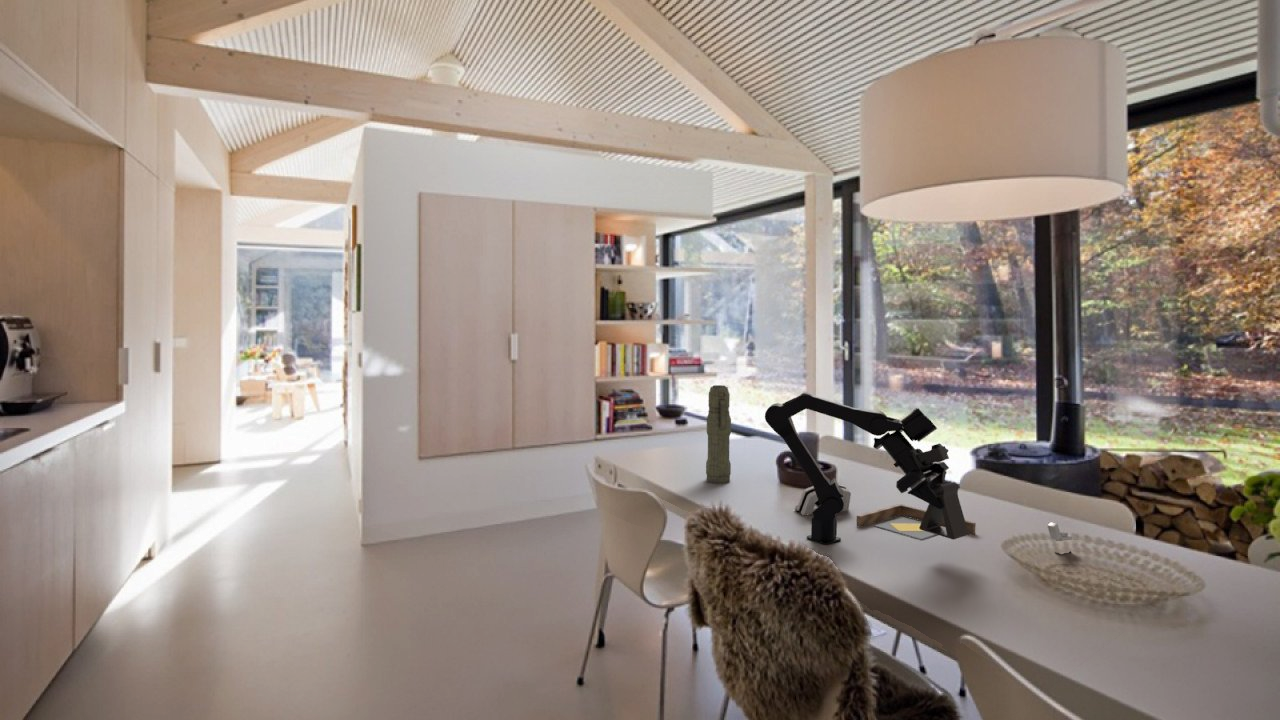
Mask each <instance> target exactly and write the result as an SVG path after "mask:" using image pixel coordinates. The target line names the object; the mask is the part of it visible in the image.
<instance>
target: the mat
mask: <svg viewBox="0 0 1280 720" xmlns="http://www.w3.org/2000/svg"><path fill="white" fill-rule="evenodd" d="M921 522H922V521H920V520H917V519H913V518H909V517H905V516H902V517H898V518H895V519H892V520H889V521H884V522H882V523H877V524H875V525H874V527H875V528H879V529H882V530H884V531H885V530H886V531H889V532H893V533H895V534H898V535H903V536H905V535H906V537H909V536H910V537H909V538H912V537H913V539H917V540H919V541H924V540H926V539H929V538H932V537H935V536H938V535H937V534H933V533H930V532H927V531H923V530H920V529H919V527H920V525H921Z"/></svg>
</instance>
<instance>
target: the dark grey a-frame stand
mask: <svg viewBox="0 0 1280 720" xmlns="http://www.w3.org/2000/svg"><path fill="white" fill-rule="evenodd" d="M932 489H933V491H934V492H935V494H936V495H937V497H938V498H939V500H940V501H941V503H942V505H943V508H942V509H938V508H936V507H934V506H933V505H931V504H929V503H928V505H927V508H926V509H925V510H926V512H925V515H924V517H923V520H922V521H920V522H921V525H920V527H919V529H920V530H923V531H927V532H930V533H933V534H937V535H936V536H940V537H943V538H946V539H950V540H953V541H954V540H957V539H960V538H963V537H967V536H969V535H970V534H969V533H968V529H967V526H966V522H965V520H966V518H965V517H964V512H963V509H962V506H961V501H960V499H959V486H958V484H957V483H956V482H955V481H953V482H952V481H950V480H949V481H945V483H940V484H936V485H934V486H933V488H932ZM943 517H944V522H945V527H943V526H941V521H942V518H943Z"/></svg>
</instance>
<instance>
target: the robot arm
mask: <svg viewBox="0 0 1280 720" xmlns="http://www.w3.org/2000/svg"><path fill="white" fill-rule="evenodd" d="M805 410H809V411H812V412H815V413H819V414H823V415H826V416H829V417H832V418H834V419H839V420H841V421H845V422H848V423H851V424H853V425H854V426H856V427H857V428H859V429H861V430H863V431H865V432H867V433H869V434H871V435H873V436H875V437H874V439H873V440H874V443H873V448H874V450H879V449H881V448H883V449H884V450H885V451H886V453H888V455H889V456H890V457H891V459H892V460H893V461H894V464H893V466H894V467H895V468H900V469H901V471H902V472H903V473H904V474H905V475H903V476H902V477H901V478H899V479H898V480H896V486H895V487H896V489H897V490H898V491H899V492H900V494H903V493H906V492H907V491H908V492H907V494H908V495H911V496H914V497H915V498H917V499H920V500H922V501H923V502H925V503H928V505H929V504H931V505H933V506H934V507H936V508H938V509H942V508H943V505H942V503H941V501H940V500H939V498H938V497H937V495H936V494H935V492H934V491H933V489H932V488H933V486H934V485H936V484H940V483H945V482H946V475H947V471H948V469H950V467H949V466H948V465H947V463H946V462H945V461H946V460H949V459H950V458H949V454H948V453H949V449H948V448H946V446H945V445H942V444H941V443H936V444H933V445H931V450H930V449H929V450H926V451H924V452H923V451H922V449H920V448H914V446H913V445H912V444H911V443H910V441H912V442H916V441H917V442H919V443H920V442H921V441H922V440H924V439H925V438H926V437H928V435H930V434H932V433H933V432H934V431H936V430H937V429H938V428H937V426H936V425H935V424H934V423H933V422H932V420H931V419H930V418H929V417H928V416H927V415H925V414H924V413H923V412H922V410H920V408H918V407H916V408H914V409H913V410H912V411H911V412H910V413H909V414H908V415H906V416H904V418H902V419H898V418H893V417H889V416H888V415H887V414H886V413H885V412H883V411H881V410H876V409H868V408H858V407H852V406H849V405H845V404H842V403H840V402H837V401H833V400H830V399H826V398H823V397H820V396H817V395H813V394H811V393H809V392H803V393H801V394H800V395H798V396H796V397H794V398H792V399H789V400H787V401H785V402H783V403H779V402H778V403H773V404H771V405H770V406H769V407H768V408H767V409H766V411H765V414H764V420H765V422H766V423H767V425H768V426H769V427H770V428H771V429H772V430H773V431H774V432H775V433H776V434H777V435H778V436H780V438H782V440H783V441H784V443H785V444H786V445H787V448H789V450H790V452H791V453H792V455H793V456H794V457H795V459H796V461H797V463H798V464H799V466H800V467H801V469H802V470H803V472H804V473H805V475H806V476H807V479H808V480H809V482H810V483H811V485H812V486H813V487H814V490H815V493H816V495H817V498H818V500H817V501H816V502H815V503H814V504H813V510H812V516H811V527H810V530H811V534H810V535H806V539H808V540H811V541H813V542H817V543H819V544H822V545H830V544H833V543H836V542H840V541H841V539H842V538H841V537H838V536H837V533H838V532H837V530H838V529H837V528H838V526H837V525H838V522H837V521H838V520H837V515H838V514H840V513H841V512H843V511H842V509H843V506H844V498H843V497H844V496H843V489H841V488H840V487H839V485H840V484H839V483H838V482H837V479H836V478H835V477H833V479H830V478H828V476H826V475H825V474H824V472H823V470H822V469H821V467H820V466H819V464H818V463H817V461H816V459H815V458H814V457H813V455H812V453H811V451H810V450H809V449H808V447H807V446H806V444H805V443H804V441H803V439H802V438H801V436H800V435H799V433H798V432H797V430H796V427H795V424H794V421H793V419H792V417H793V416H795V415H797V414H799V413H801V412H803V411H805ZM890 432H892V433H890ZM902 432H903V433H905V435H906V436H907V438H909V440H910V441H909V440H908V439H907V438H906V437H905V435H903V433H902ZM876 436H878V437H879V436H880V437H879V438H877V437H876ZM838 484H839V485H838ZM908 489H910V490H908Z"/></svg>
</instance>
